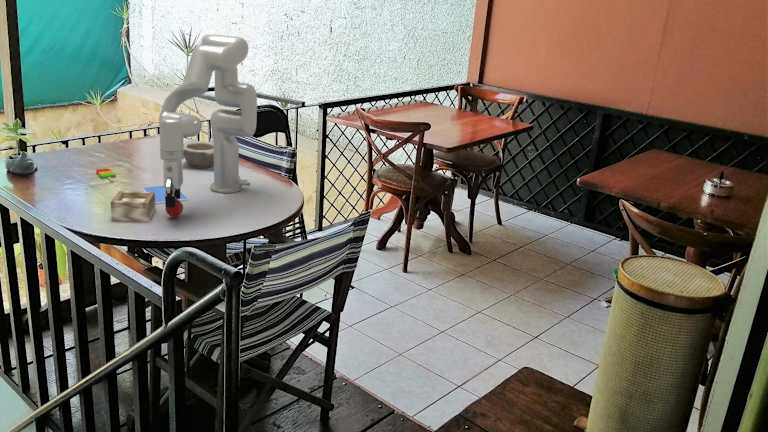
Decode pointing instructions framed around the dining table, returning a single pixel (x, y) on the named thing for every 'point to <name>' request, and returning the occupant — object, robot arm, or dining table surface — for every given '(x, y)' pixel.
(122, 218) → the wooden box
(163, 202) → the tablet computer
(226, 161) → the robot arm
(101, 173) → the popsicle
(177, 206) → the onion
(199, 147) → the mortar
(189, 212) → the dining table surface
